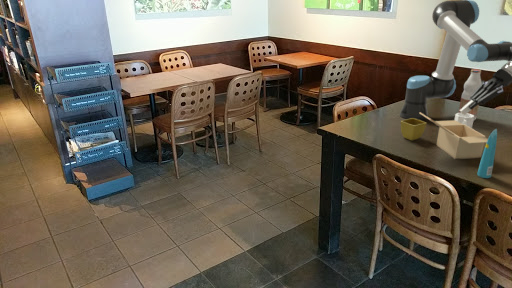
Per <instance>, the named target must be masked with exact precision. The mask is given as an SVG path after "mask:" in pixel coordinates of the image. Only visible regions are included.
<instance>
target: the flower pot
mask: <svg viewBox="0 0 512 288" xmlns="http://www.w3.org/2000/svg"><path fill="white" fill-rule="evenodd" d="M426 126H427V122H425V121H424V120H417V119H415V118H411V119H404V120H400V132H401V135H402V137H403V138H404V139H406V140H409V141H416V140H418V139H419V140H420V138H421V137H422V135H423V134H424V132H425V130H426Z"/></svg>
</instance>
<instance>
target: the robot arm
mask: <svg viewBox="0 0 512 288" xmlns="http://www.w3.org/2000/svg"><path fill="white" fill-rule="evenodd" d="M479 16H480V7H479V5H478V3H477V2H476V1H474V0H445V1H442V2H440V3H439V4H437V5H436V6H435V7H434V10H433V11H432V18H431V19H432V22H433V23H434V25H435V26H436V27H438V29H440V30H444V31H445V32H446V34H445V38H444V41H443V44H442V48H441V50H440V51H441V52H440V56H439V59H438V62H437V66H436V69H435V70H434V71H433V72H432V73H431V77H430V76H428V75H414V76H410V77H409V79H408V80H407V83H406V91H405V98H404V99H405V100H404V103H403V105H402V108H401V109H400V111H399V116H400V117H402V118H404V119H405V120H407V119H411V118H415V119H417V120H420V121H424V120H428V119H427V118H426V117H424V116H423V115H421V114H420V112H421V113H422V114H424V115H425V116H427V117H429V116H428V115H429V113H428V107H427V101H428V99H444V98H448V97H450V96H452V95H453V94H454V93H455V90H456V88H457V84H456V80H455V77H454V74H453V72H454V70H455V69H454V68H455V66H456V65H455V64H456V63H457V58H458V55H459V53H460V49H461V47H462V48H463V49H464V50H466V51H467V53H466V56H467V59H468V60H469V62H473V63H475V62H476V63H484V62H497V61H498V62H501V61H507V62H506V63H505V64H503V65H502V66H501V68H499V69H498V70H497V71H496V72H494V73H493V74H492V78H490V79H488V80H487V81H485V80H481V84H480V86H479V87H478V88H477V89H476V90H475V91H474V92H473V94H472V95H471V96H470V99H471V100H470V101H469V102H468V103H467V104H466V105H465V106H464V107H463V108H462V109H460V112H461V113H462V114H463V115H466V114H467V113H468V112H469V111H470V110H472V109H473V108H474V107H476V106H477V105H479V106H480V105H481V106H484V105H485V104H486V103H488V102H489V101H491V100H493V99H494V98H496V97H497V96H499V95H501V94H504V93H505V91H504V89H503V88H504V87H508V86H509V85H510V84H512V42H511V41H506V40H502V41H500V40H499V42H497V43H488V42H487V41H485V39H483V38H482V37H481V36H480V35H478V34H477V33H476V32H475V31H474V30H473V29H471V28H470V27H471V25H473V24H475V23H476V22H477V21H478V19H479Z"/></svg>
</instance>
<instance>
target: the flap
mask: <svg viewBox="0 0 512 288" xmlns="http://www.w3.org/2000/svg"><path fill="white" fill-rule="evenodd" d="M420 114H421V115H423V116H424V117H426V118H427V119H426V120H429V121H430V122H432V123H433V124H435V125H436V126H438V128H440V127H441V128H442V129H444V130H445V131H447V132H449V133H450V134H452V135H454V134H453V133H451V132H450V131H448V130H447V129H445V128H444V127H442V126H441V125H439V124H438V123H436V122H435V121H436V120H434V119H432V118H431V117H429V116H428V117H427V116H425V115H424V114H422V113H421V112H420Z"/></svg>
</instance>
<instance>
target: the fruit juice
mask: <svg viewBox="0 0 512 288" xmlns="http://www.w3.org/2000/svg"><path fill="white" fill-rule="evenodd" d="M481 73H482V70H481V69H477V68H475V69H473V68H472V69H471V70H470V75H469V77H468V78H467V80H466V81H465V82H464V84H463V92H462V93H461V97H460V103H459V107H458V111H457V113H461V112H460V109H462V108H463V107H464V106H465V105H466V104H467V103H468V102H469V101H470V100H471V99H470V96H471V95H472V94H473V92H474V91H475V90H476V89H477V88H478V87H479V86H480V84H481V82H482V78H481ZM479 107H480V104H479V105H477V106H476V107H474V108H473V109H472V110H470V111H469V112H468V114H472V115H474V121H476V120H477V115H478V113H479V111H478V110H479Z"/></svg>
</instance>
